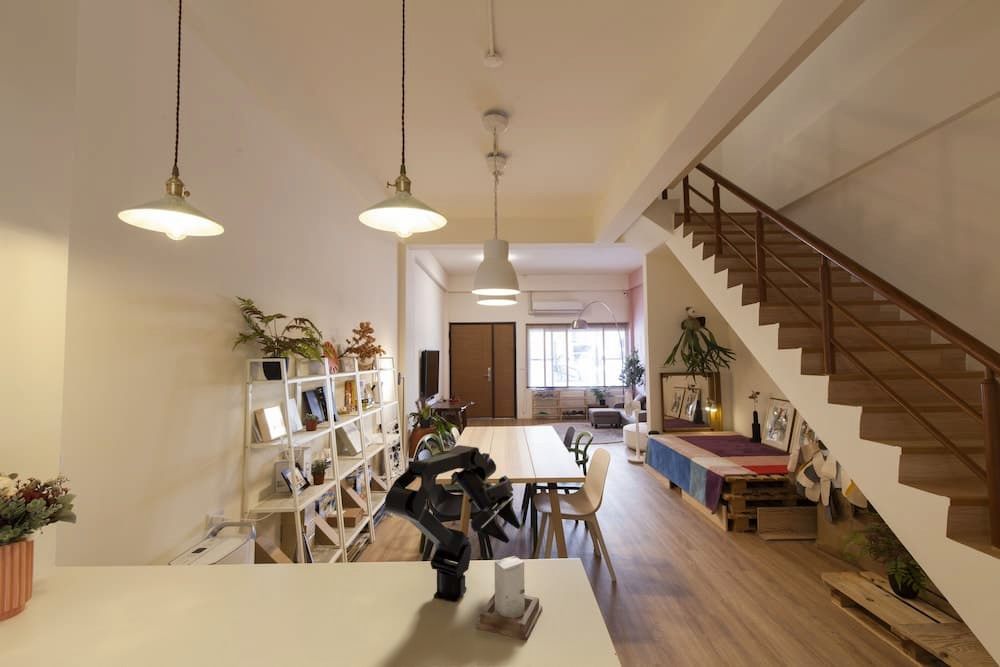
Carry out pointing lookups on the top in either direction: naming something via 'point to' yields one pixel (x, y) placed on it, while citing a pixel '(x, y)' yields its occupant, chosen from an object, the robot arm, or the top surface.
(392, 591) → the top surface
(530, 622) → the walnut holder
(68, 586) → the top surface
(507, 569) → the skincare box
